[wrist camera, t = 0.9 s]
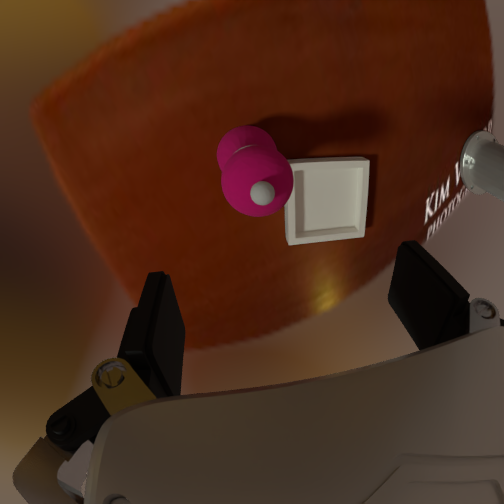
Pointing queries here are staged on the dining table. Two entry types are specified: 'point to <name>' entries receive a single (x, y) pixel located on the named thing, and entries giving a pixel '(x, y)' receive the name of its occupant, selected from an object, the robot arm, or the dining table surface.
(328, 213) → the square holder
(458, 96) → the dining table surface
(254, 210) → the pepper mill
